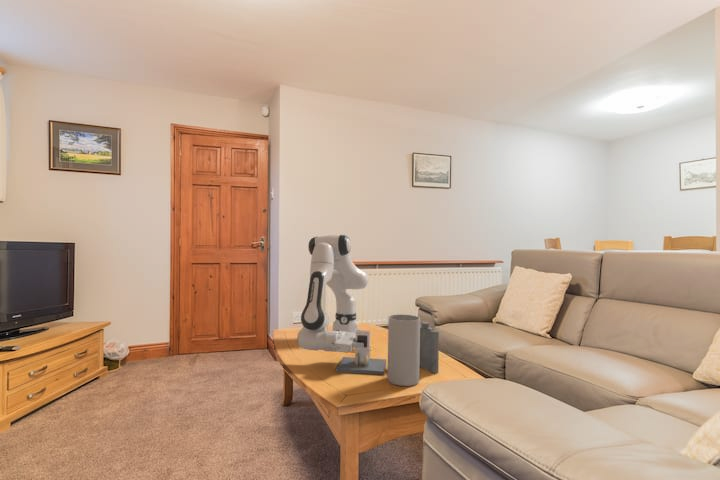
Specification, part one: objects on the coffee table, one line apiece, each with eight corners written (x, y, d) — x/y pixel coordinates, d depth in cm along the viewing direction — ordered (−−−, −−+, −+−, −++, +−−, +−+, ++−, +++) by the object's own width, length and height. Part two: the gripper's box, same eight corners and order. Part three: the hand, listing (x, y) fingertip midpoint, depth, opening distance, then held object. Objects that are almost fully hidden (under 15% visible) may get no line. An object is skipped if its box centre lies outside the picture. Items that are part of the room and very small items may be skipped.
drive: (356, 361, 161) (356, 330, 161) (369, 362, 160) (370, 330, 160) (354, 364, 157) (355, 331, 158) (368, 365, 156) (369, 332, 157)
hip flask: (408, 363, 164) (409, 319, 164) (414, 362, 166) (415, 318, 167) (434, 374, 151) (435, 326, 151) (441, 372, 153) (441, 325, 154)
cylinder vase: (420, 376, 148) (421, 315, 148) (418, 388, 136) (419, 321, 136) (389, 373, 150) (390, 313, 151) (385, 385, 138) (386, 319, 139)
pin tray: (343, 360, 168) (343, 347, 168) (386, 362, 165) (386, 349, 165) (336, 372, 152) (336, 357, 152) (383, 375, 149) (384, 360, 149)
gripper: (328, 340, 150) (361, 341, 148) (338, 328, 170) (367, 330, 168) (328, 355, 150) (361, 357, 148) (337, 342, 170) (367, 343, 168)
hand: (364, 342), depth 158 cm, fingers open, 5 cm apart
